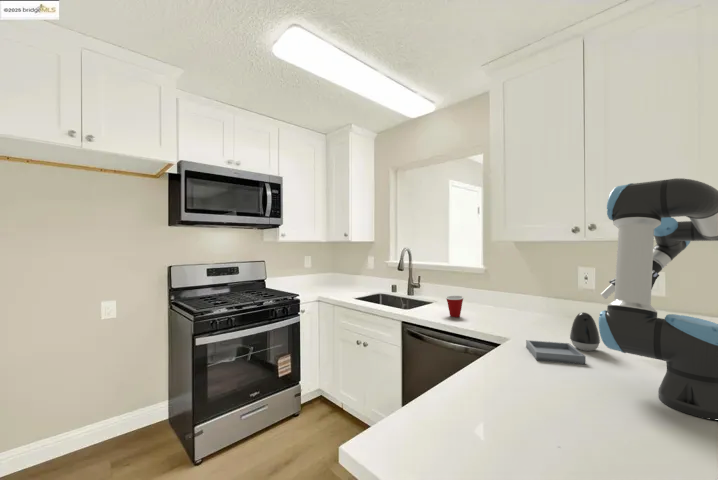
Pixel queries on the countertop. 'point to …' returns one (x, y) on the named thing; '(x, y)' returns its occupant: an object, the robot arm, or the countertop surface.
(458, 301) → the plastic cup
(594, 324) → the black egg-shaped dome
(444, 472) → the countertop surface
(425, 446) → the countertop surface
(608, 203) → the robot arm
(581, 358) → the tray
